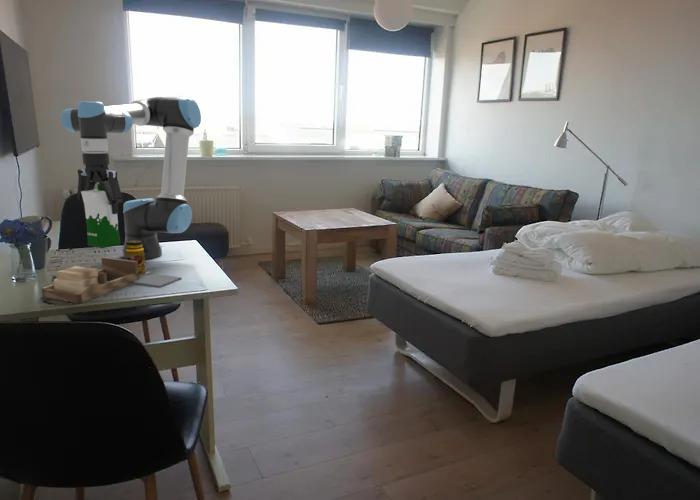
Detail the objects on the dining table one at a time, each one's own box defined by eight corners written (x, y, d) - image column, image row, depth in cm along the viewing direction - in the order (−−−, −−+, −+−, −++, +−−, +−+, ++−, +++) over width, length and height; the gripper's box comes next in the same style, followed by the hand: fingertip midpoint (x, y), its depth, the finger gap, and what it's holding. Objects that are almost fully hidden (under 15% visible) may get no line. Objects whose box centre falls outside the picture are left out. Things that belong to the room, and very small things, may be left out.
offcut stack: (74, 289, 165) (72, 265, 164) (101, 292, 163) (99, 268, 161) (54, 296, 158) (51, 272, 156) (81, 299, 155) (79, 275, 153)
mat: (155, 275, 182) (155, 273, 182) (181, 278, 179) (181, 277, 178) (133, 283, 172) (133, 281, 172) (160, 287, 168) (160, 285, 168)
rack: (105, 276, 180) (104, 257, 178) (139, 281, 175) (137, 261, 173) (42, 297, 156) (40, 275, 155) (79, 303, 152) (76, 280, 150)
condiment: (134, 277, 179) (132, 244, 177) (118, 273, 183) (116, 241, 181) (151, 272, 185) (149, 240, 183) (136, 269, 190) (133, 237, 187)
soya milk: (125, 244, 170) (119, 183, 165) (100, 249, 162) (94, 186, 158) (107, 240, 174) (101, 182, 169) (83, 246, 166) (76, 184, 161)
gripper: (59, 151, 161) (66, 221, 166) (113, 154, 154) (120, 227, 159) (78, 150, 168) (85, 218, 173) (131, 153, 161) (137, 223, 166)
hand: (102, 222), depth 166 cm, fingers closed on soya milk, 9 cm apart
